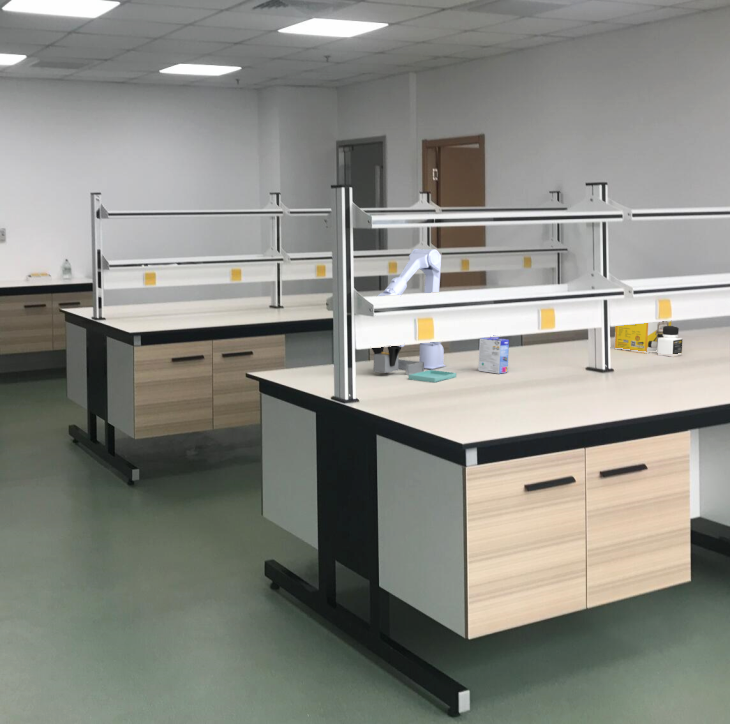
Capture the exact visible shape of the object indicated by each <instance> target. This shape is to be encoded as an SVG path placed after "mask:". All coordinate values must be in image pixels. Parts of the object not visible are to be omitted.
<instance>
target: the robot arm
mask: <svg viewBox="0 0 730 724" xmlns="http://www.w3.org/2000/svg"><path fill="white" fill-rule="evenodd" d="M441 263H442V254H441V253H440V252H439V251H438V249H435V248H434V249H433V248H432V249H426V248H425V249H423V248H414V249H413V250H412V251H411V252H410V254H409V255H408V261H407V263H406V264H405V266H404V268H403V270H401V273H400V274H399V276H396V277H394V278H392V279H391V280H390V283H389V284H388V285H387V287H386V288H385V289H384V291H382V292H381V293H379V294H378V295H377V296H385V295H401V296H402V295H403V294H404V292H405V291H406V289H407V288H408V282H409V280H410V279H412V278H413V276H414V275H415V274H416V273H417V271H418V270H421V271H422V272H423V274H424V275H425V276H424V278H425V280H424V292H423V294H424V293H431V292H439V293H440V284H441V283H440V282H441ZM390 346H391V345H390ZM390 346H387V352H389V358H390V366H395V362H396V359H397V356H398V357H399V353H400V351H401V349H402V348H403V347H405V344H404V345H400V346H391V347H390ZM384 348H385V346H384V347H381V348H371V350H372V351H373V355H374V354H379V353H381V352H384ZM444 349H445V348H444V347H443V345H442V342H430V343H419V356H418V357H419V358H418V359H419V362H424V369H426V370H427V369H428V370H436V369H439V368H444V367H446V364H444V362H445V361H444V360H445V359H444V358H445V356H444V354H445V353H444V352H445V350H444Z"/></svg>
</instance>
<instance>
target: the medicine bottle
mask: <svg viewBox="0 0 730 724" xmlns="http://www.w3.org/2000/svg"><path fill="white" fill-rule="evenodd" d="M679 330H680V329H679V327H678V326H676V325H675V326H674V325H671V326H665V327H663V337H662V338H658V349H657V352H656V354H657V353H661V354H678V353H682V354H683V338H682V337H679Z"/></svg>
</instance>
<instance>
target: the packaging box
mask: <svg viewBox="0 0 730 724" xmlns="http://www.w3.org/2000/svg"><path fill="white" fill-rule="evenodd" d="M614 326H615V325H614ZM665 326H672V320H671V321H662V322H653V323H644V324H635V325H624V326H615V327H614V345H613V346H614V348H623V349H630V350H638V351H646V352H648V351H656V350H657V349H658V338H662V337H663V327H665Z"/></svg>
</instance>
